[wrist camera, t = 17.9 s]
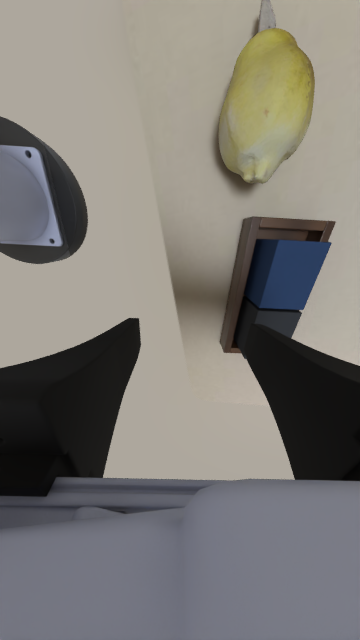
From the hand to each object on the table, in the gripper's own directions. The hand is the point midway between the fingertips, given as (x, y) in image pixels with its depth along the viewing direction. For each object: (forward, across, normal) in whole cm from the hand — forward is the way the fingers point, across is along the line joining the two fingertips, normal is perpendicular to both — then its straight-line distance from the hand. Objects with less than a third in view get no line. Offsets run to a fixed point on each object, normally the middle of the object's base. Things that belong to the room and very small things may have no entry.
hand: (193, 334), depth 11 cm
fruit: (+11, -4, -14) cm, 18 cm away
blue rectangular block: (+10, -9, -3) cm, 14 cm away
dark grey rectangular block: (+10, -9, +3) cm, 14 cm away
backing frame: (+10, -9, 0) cm, 14 cm away
